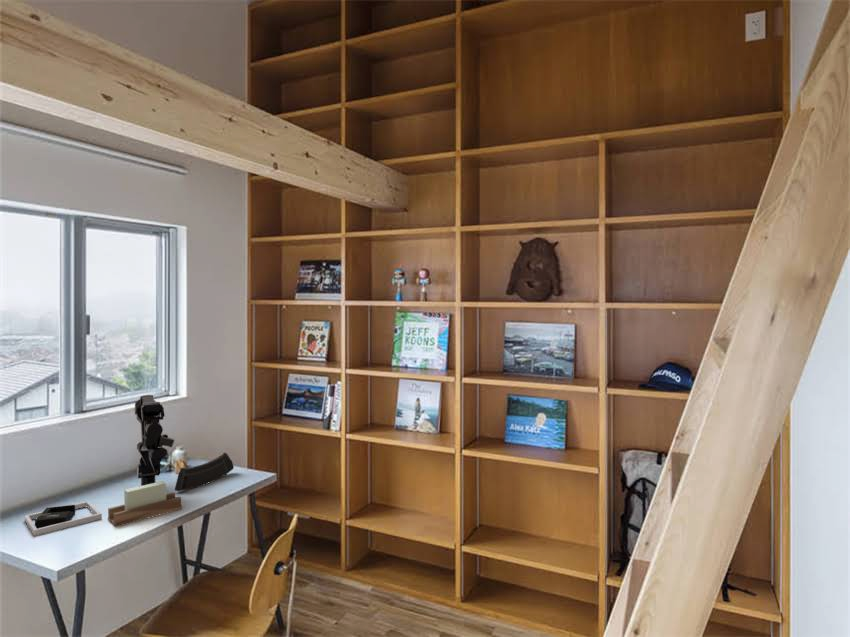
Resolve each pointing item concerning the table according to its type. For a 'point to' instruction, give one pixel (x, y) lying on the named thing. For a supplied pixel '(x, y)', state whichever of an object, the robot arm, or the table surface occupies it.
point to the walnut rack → (143, 510)
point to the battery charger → (55, 515)
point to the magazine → (203, 473)
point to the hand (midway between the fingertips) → (152, 469)
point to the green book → (144, 495)
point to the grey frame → (62, 525)
